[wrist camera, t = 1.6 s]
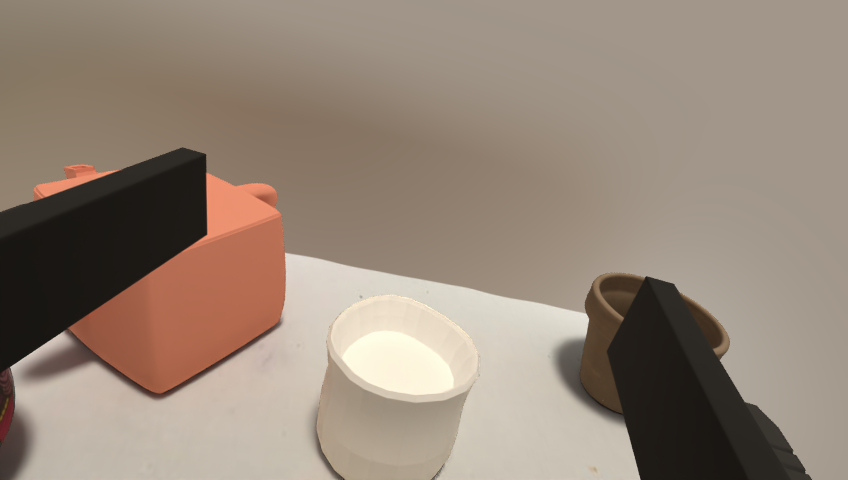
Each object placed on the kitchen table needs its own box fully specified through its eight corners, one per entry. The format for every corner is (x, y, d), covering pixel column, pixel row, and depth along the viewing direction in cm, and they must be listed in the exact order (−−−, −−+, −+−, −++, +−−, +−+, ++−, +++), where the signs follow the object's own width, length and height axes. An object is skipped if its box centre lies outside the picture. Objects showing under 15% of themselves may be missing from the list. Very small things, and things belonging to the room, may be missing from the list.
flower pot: (646, 359, 49) (690, 284, 44) (698, 450, 39) (762, 364, 34) (545, 339, 48) (578, 260, 44) (570, 426, 38) (618, 335, 34)
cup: (332, 377, 37) (347, 281, 33) (448, 401, 38) (478, 310, 33) (294, 484, 29) (307, 374, 24) (445, 514, 29) (484, 411, 25)
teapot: (322, 304, 46) (338, 177, 39) (83, 456, 28) (41, 269, 21) (193, 229, 53) (189, 112, 46) (-63, 313, 35) (-127, 140, 29)
